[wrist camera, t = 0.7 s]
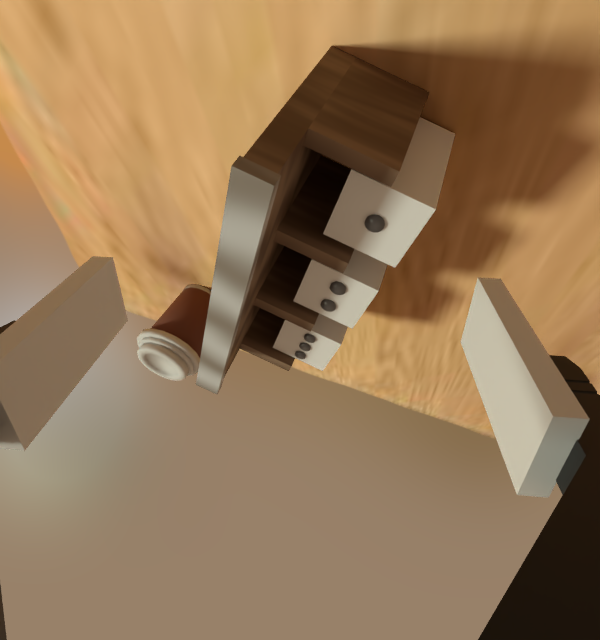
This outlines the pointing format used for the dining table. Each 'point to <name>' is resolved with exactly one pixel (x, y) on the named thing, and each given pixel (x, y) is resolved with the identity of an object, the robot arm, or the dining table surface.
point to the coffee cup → (177, 336)
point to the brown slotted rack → (299, 203)
